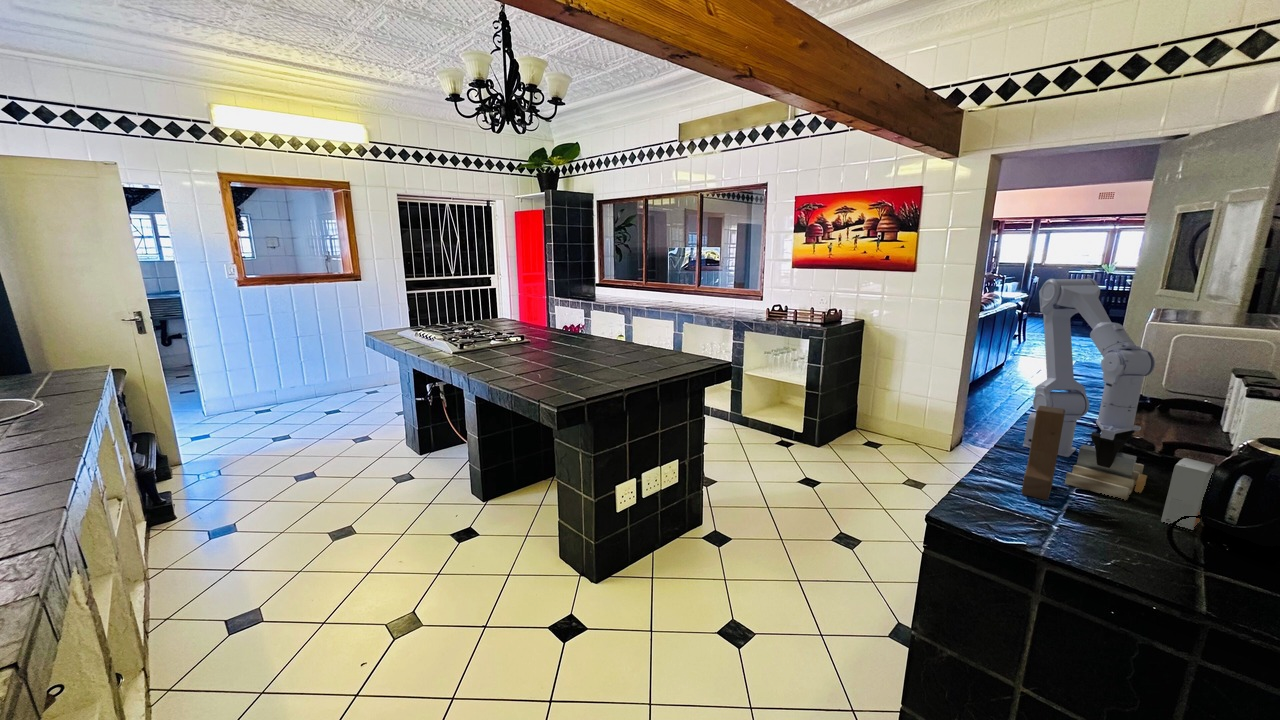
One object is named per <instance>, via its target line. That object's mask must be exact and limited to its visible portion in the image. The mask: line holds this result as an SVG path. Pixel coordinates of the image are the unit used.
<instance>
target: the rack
mask: <svg viewBox="0 0 1280 720" xmlns="http://www.w3.org/2000/svg"><path fill="white" fill-rule="evenodd" d="M1144 466H1145V464H1142V463H1139V462H1138V463H1137V462H1136V463H1135V467H1134V472H1133V477H1132V479H1129V478H1125V477H1121V476H1117V475H1113V474H1109V473H1105V472H1101V471H1097V470H1093V469H1089V468H1085V467H1081V466H1077V464H1074V465H1073V466H1072V472H1069V471H1067V472H1066V474H1065V479H1064V480H1065V481H1064V484H1065V485H1067V486H1071V487H1075V488H1079V489H1083V490H1086V491H1089V490H1090V491H1089V492H1094V493H1098V494H1100V493H1102V494H1101V495H1104V494H1105V495H1104V496H1107V495H1109V496H1108V497H1111V496H1113V497H1112V498H1115V497H1118V498H1121V499H1120V500H1122V499H1124V500H1123V501H1126V500H1127V501H1128V499H1129V497H1130V496H1129V495H1131V494H1132V493H1133V491H1135V493H1138V492H1139V493H1138V494H1141V493H1142V492H1143V490H1144V489H1145V487H1144V486H1146V483H1147V478H1148V475H1146V474H1143V472H1144ZM1135 485H1136V486H1135ZM1118 498H1117V499H1118Z"/></svg>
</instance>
